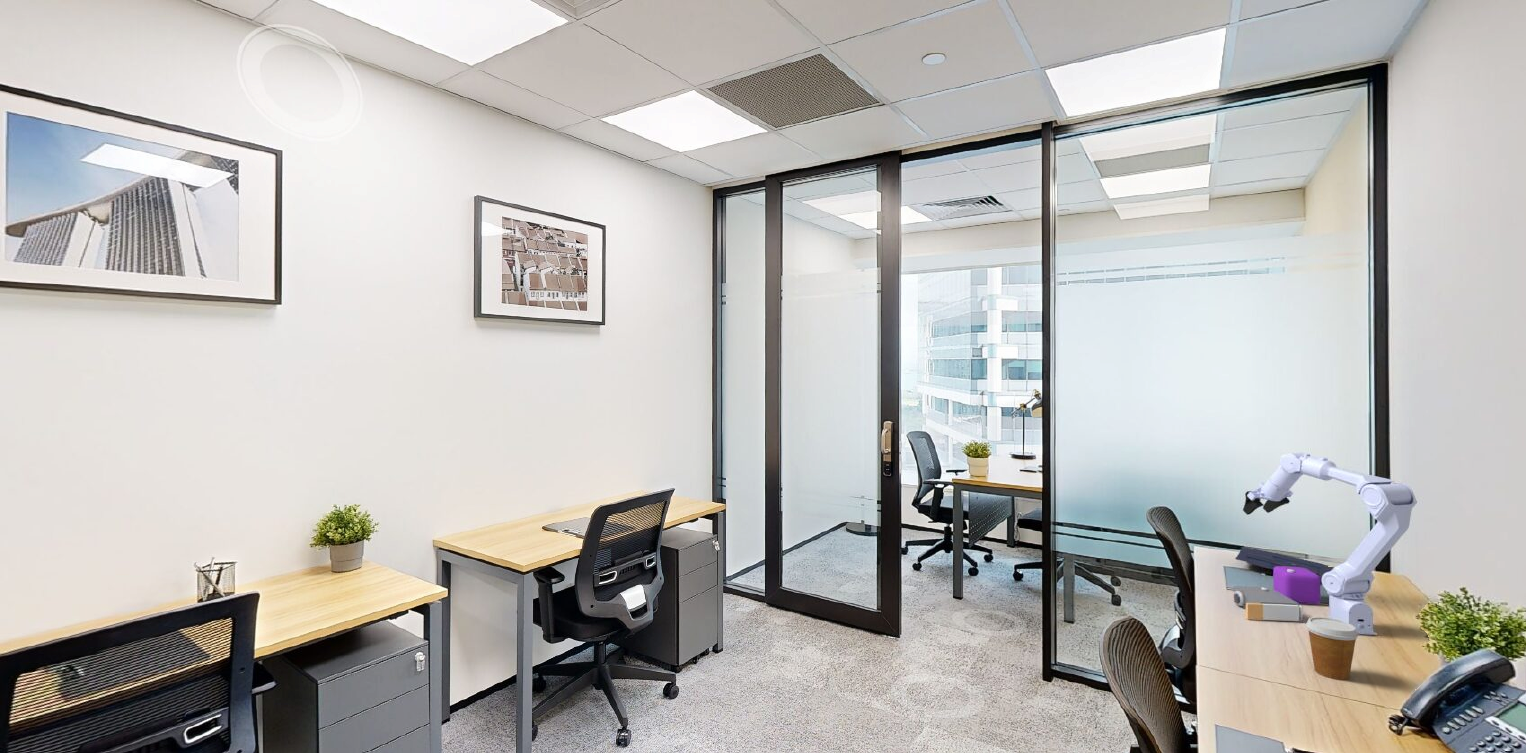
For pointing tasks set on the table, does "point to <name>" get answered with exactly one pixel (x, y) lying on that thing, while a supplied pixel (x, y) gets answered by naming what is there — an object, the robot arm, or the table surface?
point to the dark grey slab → (1280, 561)
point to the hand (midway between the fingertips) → (1255, 511)
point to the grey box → (1262, 597)
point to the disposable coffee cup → (1332, 646)
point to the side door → (1272, 612)
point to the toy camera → (1297, 584)
